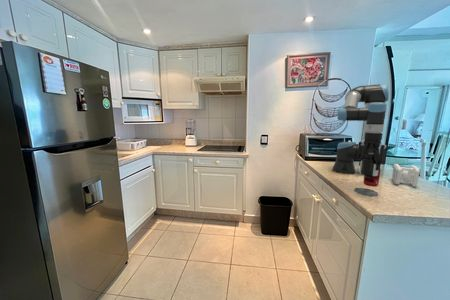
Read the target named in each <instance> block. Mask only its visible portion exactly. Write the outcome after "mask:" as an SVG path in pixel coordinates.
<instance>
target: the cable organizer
mask: <svg viewBox="0 0 450 300" xmlns="http://www.w3.org/2000/svg"><path fill="white" fill-rule="evenodd" d="M392 165H393V166H392V173H391V174H392V175H391V179H392V181H393V183H394V185H400V183H408V184H410V185H411V186H412V187H413V188H417V186H418V184H419V183H418V182H419V177H420V172H421V171H420V168H418V167H417V166H416V165H413V164H411V166H410V167H403V166H400V165H399V164H398V163H394V164H392Z"/></svg>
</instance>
